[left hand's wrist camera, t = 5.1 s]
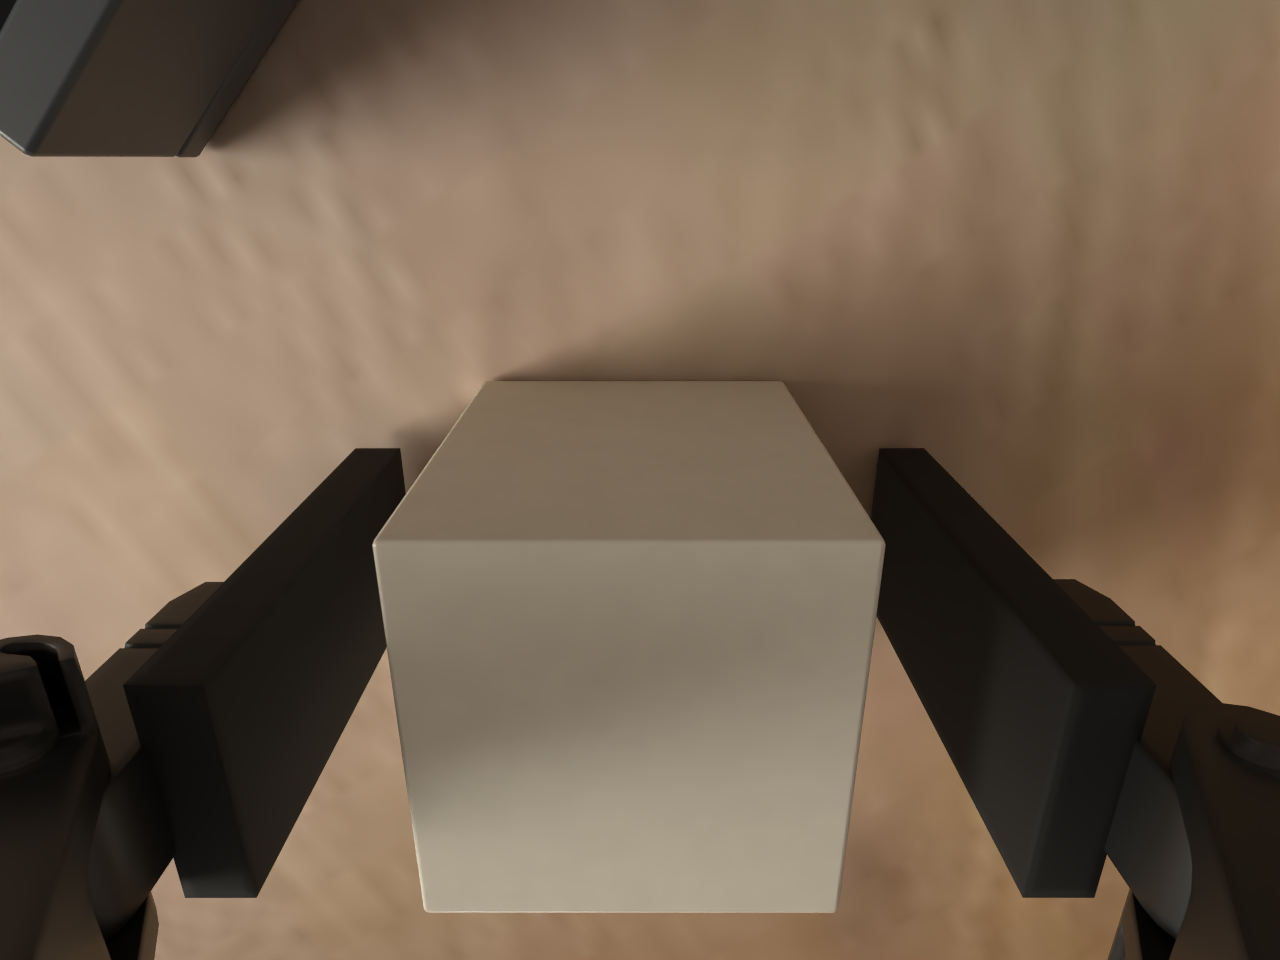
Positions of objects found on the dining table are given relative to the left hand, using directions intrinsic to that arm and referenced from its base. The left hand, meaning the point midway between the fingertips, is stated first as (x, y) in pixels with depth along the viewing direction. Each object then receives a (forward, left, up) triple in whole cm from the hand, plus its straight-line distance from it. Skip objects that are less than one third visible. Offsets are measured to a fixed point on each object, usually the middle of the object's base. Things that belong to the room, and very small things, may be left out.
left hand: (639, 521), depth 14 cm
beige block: (0, 0, 0) cm, 0 cm away
